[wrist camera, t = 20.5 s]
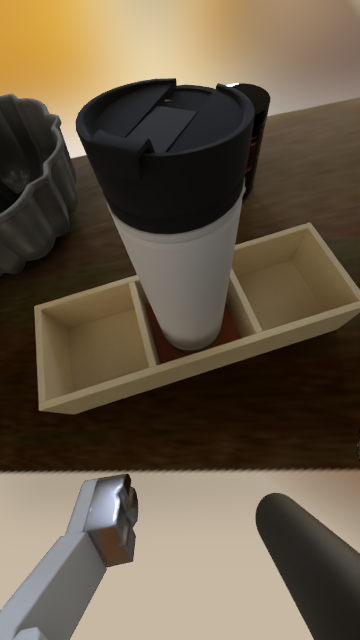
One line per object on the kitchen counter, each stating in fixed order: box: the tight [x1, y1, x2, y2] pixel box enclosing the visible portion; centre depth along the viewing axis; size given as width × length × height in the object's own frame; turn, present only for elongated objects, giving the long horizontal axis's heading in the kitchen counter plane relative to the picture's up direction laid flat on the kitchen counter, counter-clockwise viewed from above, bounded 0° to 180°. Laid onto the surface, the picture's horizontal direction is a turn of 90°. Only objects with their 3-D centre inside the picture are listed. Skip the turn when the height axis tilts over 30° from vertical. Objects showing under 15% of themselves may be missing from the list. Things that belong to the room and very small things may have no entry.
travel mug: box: [76, 78, 255, 353], centre depth 17 cm, size 6×7×20 cm
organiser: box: [34, 223, 360, 414], centre depth 24 cm, size 10×28×6 cm, turn 107°
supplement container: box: [226, 84, 270, 199], centre depth 30 cm, size 7×7×10 cm
